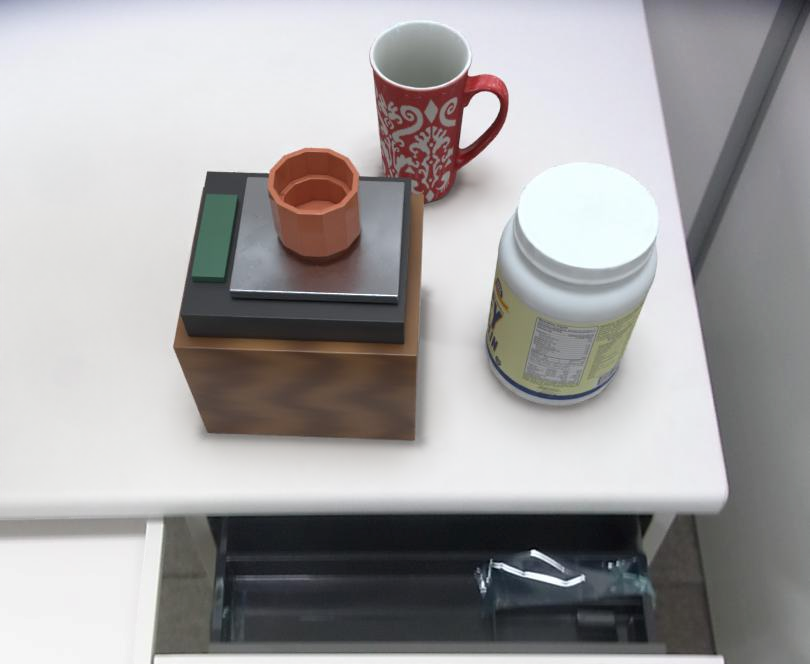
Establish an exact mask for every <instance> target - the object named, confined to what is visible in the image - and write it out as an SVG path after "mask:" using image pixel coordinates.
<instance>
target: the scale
mask: <svg viewBox="0 0 810 664" xmlns="http://www.w3.org/2000/svg"><path fill="white" fill-rule="evenodd" d="M248 177H261V178H269V172H265V173H264V172H245V171H243V172H241V171H213V170H212V171H211V170H207V171H206V175H205V180H204V184H203V185H204V186H203V187H204V190H203V189H202V190H203V195H202V194H201V196H202V201H201V200H200V201H201V206H200V205H199V206H200V211H199V210H198V212H199V217H198V216H197V217H198V222H197V221H196V222H197V227H196V226H195V227H196V233H195V232H194V233H195V238H194V237H193V238H194V243H193V242H192V243H193V249H192V248H191V249H192V254H191V253H190V254H191V259H190V258H189V259H190V265H189V264H188V265H189V270H188V269H187V270H188V275H187V274H186V275H187V281H186V280H185V281H186V286H185V285H184V286H185V291H184V290H183V291H184V297H183V296H182V297H183V302H182V301H181V302H182V307H181V306H180V307H181V313H180V315H181V318H182V321H183V324H184V326H185V329H186V332H187V334H188V336H191V337H219V338H248V339H276V340H304V341H333V342H361V343H389V344H404V338H405V318H406V298H407V278H408V258H409V238H410V218H411V187H412V179H411V178H399V177H384V176H365V175H363V176H362V175H359V181H383V182H404V207H403V225H402V243H401V261H400V279H399V298H398V303H373V302H344V301H315V300H286V299H257V298H232V297H231V295H230V291H229V289H230V283H231V277H232V270H233V264H234V258H235V252H236V245H237V239H238V233H239V227H240V220H241V214H242V208H243V202H244V195H245V189H246V183H247V178H248Z"/></svg>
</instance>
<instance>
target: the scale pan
mask: <svg viewBox="0 0 810 664" xmlns="http://www.w3.org/2000/svg"><path fill="white" fill-rule="evenodd" d="M268 179H269V178H261V177H248V178H247V183H246V189H245V195H244V202H243V208H242V214H241V220H240V227H239V233H238V239H237V245H236V252H235V258H234V264H233V270H232V277H231V283H230V289H229V291H230V295H231V297H232V298H257V299H286V300H315V301H344V302H373V303H398V298H399V279H400V261H401V243H402V225H403V207H404V182H383V181H360V198H361V216H362V218H361V230H360V234H359V235H358V237H357V238H356V239H355V240H354V241H353V242H352V244H351V245H350V246H349V247H348V248H347V249H345V250H342V251H340V252H338V253H336V254H333V255H330V256H326V257H311V256H304V255H301V254H299V253H297V252H295V251H293V250H291V249H289V248H287V247H286V246H284V244H283V243H282V241H281V239H280V238H279V236H278V234H277V233H276V231H275V227H274V221H273V216H272V210H271V205H270V200H269V194H268V189H267V186H268Z"/></svg>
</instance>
